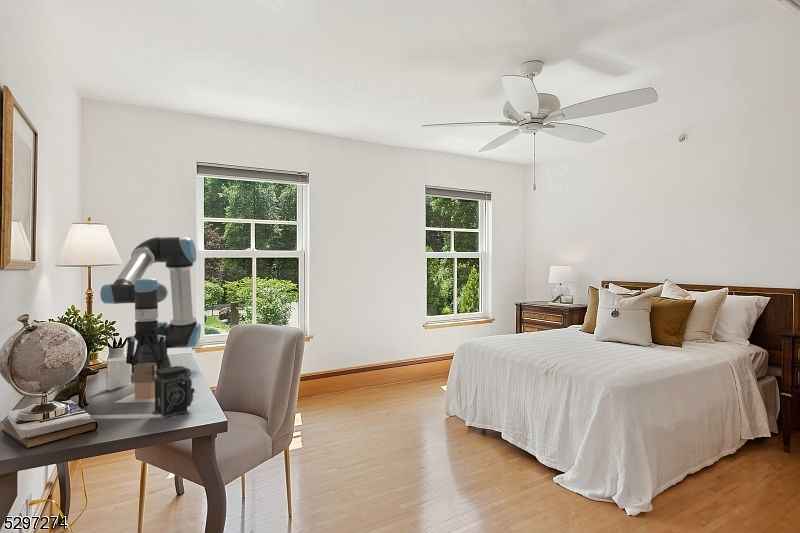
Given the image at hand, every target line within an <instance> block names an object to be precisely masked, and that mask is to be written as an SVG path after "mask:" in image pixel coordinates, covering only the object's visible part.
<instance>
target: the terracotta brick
mask: <svg viewBox="0 0 800 533" xmlns="http://www.w3.org/2000/svg"><path fill="white" fill-rule="evenodd" d="M134 393H135V399H152V398H154V397H155V383H154V381H153V382H151V383H134Z"/></svg>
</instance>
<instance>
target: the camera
mask: <svg viewBox="0 0 800 533" xmlns="http://www.w3.org/2000/svg"><path fill="white" fill-rule="evenodd" d="M155 375H157V377H155V402H154V410H155V412H157V413H158V414H159V415H161V416H162V417H163V418H167V417H170V416H171V417H172V416H176V415H180V414H186V413H188V407H190V406H191V405H192V402H193V400H194V393H195V388H194V387H193V388H192V386H193V380H192V377H190V376H191V369H190V368H188V367H186V366H183V365H180V366H179V365H175V366H171V367H169V368H164V369H158V370H155Z"/></svg>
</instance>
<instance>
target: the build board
mask: <svg viewBox="0 0 800 533" xmlns="http://www.w3.org/2000/svg"><path fill="white" fill-rule="evenodd" d="M114 403H116V404H117V403H118V404H119V403H120V404H121V403H125V404H126V403H155V397H154V398H152V399H135V392H133V393H131V394H129V395H127V396H125V397H123V398H121V399H119V400H116V401H114Z"/></svg>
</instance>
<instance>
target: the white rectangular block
mask: <svg viewBox="0 0 800 533" xmlns="http://www.w3.org/2000/svg"><path fill="white" fill-rule="evenodd" d="M126 357H127V356H120V357H113V358H109V359H107V388H106V390H107V391H113V390H115V389H117V388H123V387H128V386H130V385H131V384H132V380H131V378H132V377H131V376H132V374H131V373H132V365H131V364H129V363H128V364H127V363H126Z"/></svg>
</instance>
